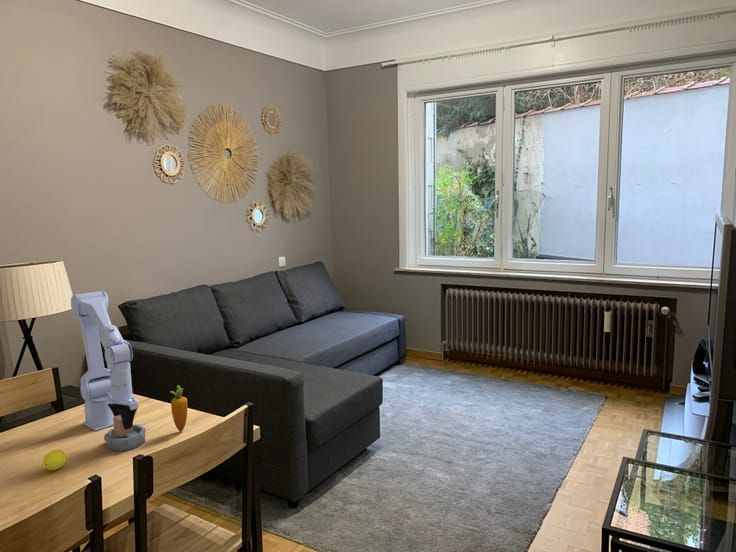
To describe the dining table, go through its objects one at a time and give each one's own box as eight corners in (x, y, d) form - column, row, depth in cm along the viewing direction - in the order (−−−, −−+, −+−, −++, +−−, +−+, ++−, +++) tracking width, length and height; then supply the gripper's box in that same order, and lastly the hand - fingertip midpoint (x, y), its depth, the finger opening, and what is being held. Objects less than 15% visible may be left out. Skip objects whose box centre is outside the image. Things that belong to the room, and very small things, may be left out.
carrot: (184, 435, 171) (181, 389, 168) (169, 434, 172) (166, 389, 169) (192, 429, 175) (189, 384, 173) (178, 428, 176) (175, 383, 174)
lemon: (54, 465, 154) (54, 446, 154) (72, 465, 153) (71, 446, 153) (36, 474, 147) (36, 454, 147) (55, 475, 146) (55, 455, 146)
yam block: (114, 432, 165) (112, 417, 164) (127, 428, 168) (125, 412, 167) (120, 436, 162) (119, 420, 161) (133, 431, 165) (132, 416, 164)
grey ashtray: (99, 444, 165) (98, 433, 165) (134, 432, 173) (133, 421, 173) (116, 455, 158) (115, 443, 158) (152, 441, 166) (151, 430, 166)
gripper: (96, 381, 165) (100, 424, 167) (119, 392, 155) (123, 437, 157) (119, 375, 170) (122, 417, 172) (143, 385, 161) (146, 429, 163)
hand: (124, 426), depth 165 cm, fingers closed on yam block, 4 cm apart
